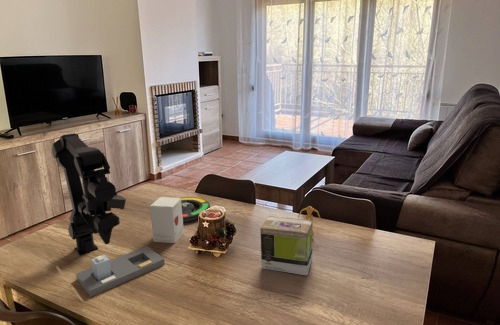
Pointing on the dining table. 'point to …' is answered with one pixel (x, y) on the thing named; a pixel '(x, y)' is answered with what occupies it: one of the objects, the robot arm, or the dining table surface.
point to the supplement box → (167, 220)
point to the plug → (101, 267)
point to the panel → (121, 270)
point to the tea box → (286, 244)
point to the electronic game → (192, 207)
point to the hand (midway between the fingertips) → (101, 238)
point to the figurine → (309, 212)
